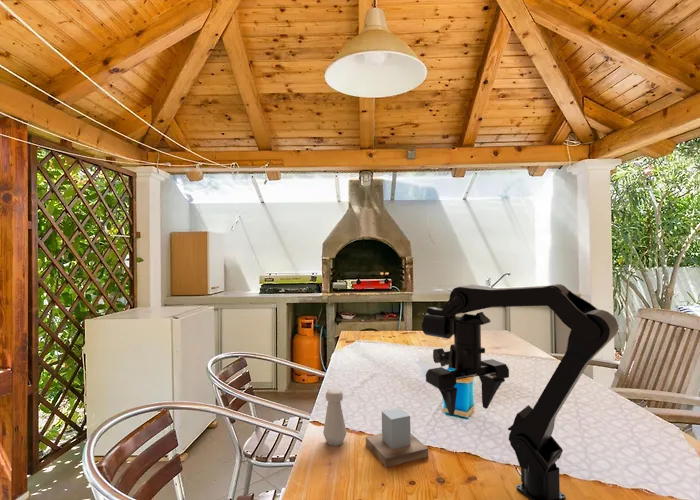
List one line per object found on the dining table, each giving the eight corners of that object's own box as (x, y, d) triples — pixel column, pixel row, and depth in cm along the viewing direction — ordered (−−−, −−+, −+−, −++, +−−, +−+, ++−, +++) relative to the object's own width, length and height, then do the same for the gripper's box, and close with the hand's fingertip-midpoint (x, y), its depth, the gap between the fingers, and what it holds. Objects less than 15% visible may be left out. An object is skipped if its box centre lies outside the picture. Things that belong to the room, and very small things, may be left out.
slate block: (410, 445, 95) (410, 415, 95) (391, 449, 93) (391, 419, 93) (400, 435, 100) (399, 407, 100) (382, 439, 98) (381, 411, 98)
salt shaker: (343, 448, 98) (342, 395, 98) (321, 446, 99) (320, 394, 99) (348, 437, 103) (347, 387, 103) (327, 435, 105) (326, 386, 104)
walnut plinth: (428, 456, 93) (428, 448, 93) (386, 467, 89) (386, 458, 89) (404, 436, 104) (404, 428, 103) (365, 444, 99) (365, 436, 99)
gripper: (477, 330, 100) (478, 392, 100) (412, 338, 93) (413, 405, 94) (510, 340, 90) (511, 409, 90) (440, 350, 83) (441, 425, 83)
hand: (468, 411), depth 90 cm, fingers open, 9 cm apart
